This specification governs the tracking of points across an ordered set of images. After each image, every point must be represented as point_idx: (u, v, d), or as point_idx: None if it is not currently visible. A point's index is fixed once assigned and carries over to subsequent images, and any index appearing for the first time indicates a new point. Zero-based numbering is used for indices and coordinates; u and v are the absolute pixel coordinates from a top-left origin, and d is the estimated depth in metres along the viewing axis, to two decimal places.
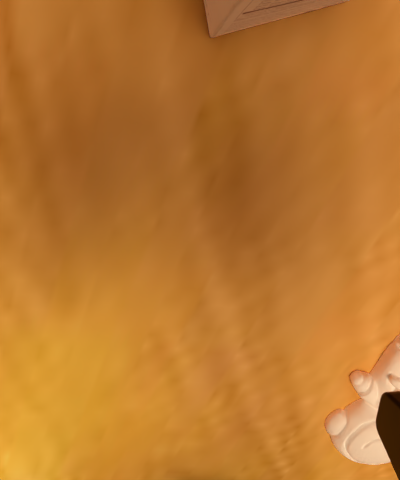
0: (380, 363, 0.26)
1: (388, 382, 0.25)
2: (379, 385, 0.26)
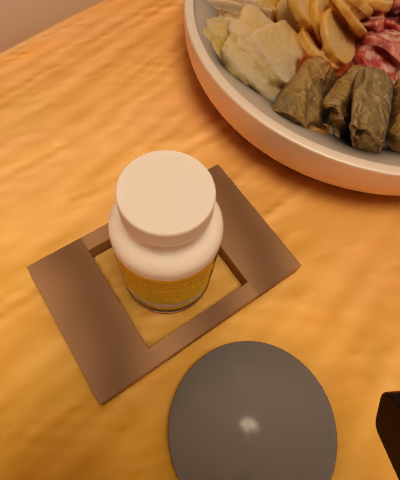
0: None
1: None
2: None
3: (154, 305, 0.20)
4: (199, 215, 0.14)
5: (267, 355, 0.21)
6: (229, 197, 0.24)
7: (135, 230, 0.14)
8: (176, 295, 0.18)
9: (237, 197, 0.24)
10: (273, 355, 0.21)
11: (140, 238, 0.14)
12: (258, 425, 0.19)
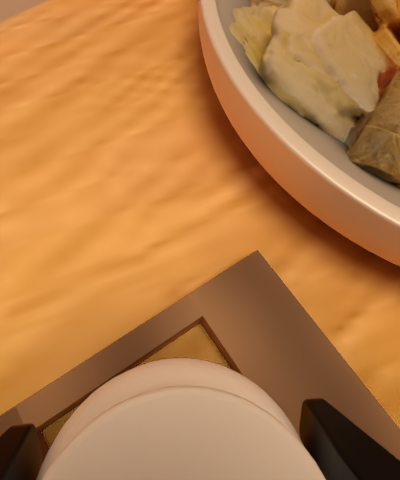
0: None
1: None
2: None
3: None
4: None
5: None
6: (279, 312, 0.14)
7: None
8: None
9: (293, 313, 0.14)
10: None
11: None
12: None
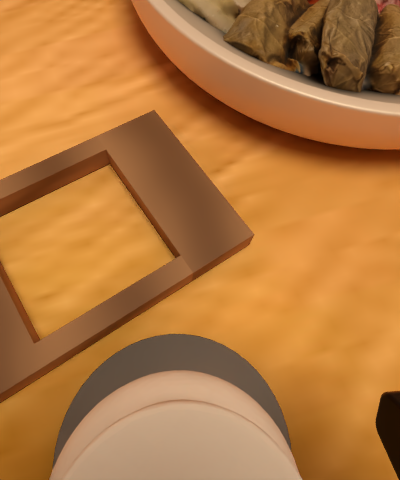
0: None
1: None
2: None
3: None
4: None
5: (202, 353, 0.15)
6: (165, 149, 0.19)
7: None
8: None
9: (175, 149, 0.19)
10: (211, 353, 0.15)
11: None
12: None
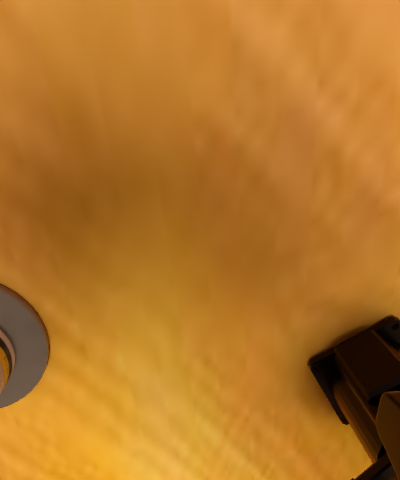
0: None
1: None
2: None
3: (2, 385, 0.19)
4: None
5: None
6: None
7: None
8: None
9: None
10: None
11: None
12: None
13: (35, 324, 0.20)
